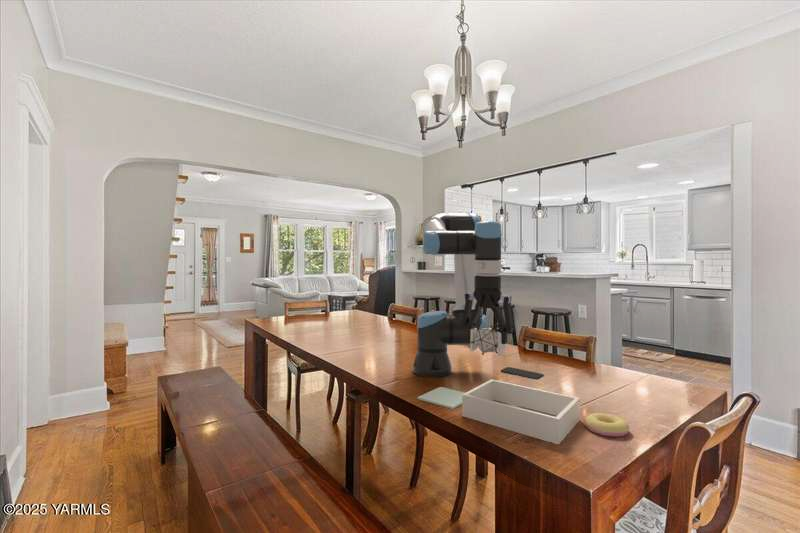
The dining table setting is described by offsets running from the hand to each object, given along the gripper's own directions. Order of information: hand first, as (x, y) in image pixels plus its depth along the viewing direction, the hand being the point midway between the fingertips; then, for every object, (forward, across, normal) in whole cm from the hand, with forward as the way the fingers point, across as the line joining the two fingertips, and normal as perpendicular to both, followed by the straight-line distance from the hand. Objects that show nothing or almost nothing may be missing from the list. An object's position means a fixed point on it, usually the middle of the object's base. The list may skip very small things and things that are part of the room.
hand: (487, 352), depth 111 cm
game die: (0, 0, 0) cm, 0 cm away
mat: (+17, -13, -1) cm, 21 cm away
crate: (+16, +10, -1) cm, 19 cm away
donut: (+17, +31, +5) cm, 35 cm away
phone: (+18, -4, +40) cm, 44 cm away
